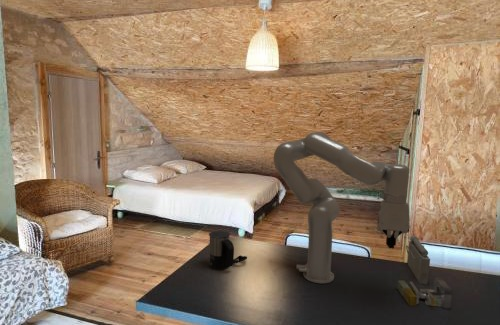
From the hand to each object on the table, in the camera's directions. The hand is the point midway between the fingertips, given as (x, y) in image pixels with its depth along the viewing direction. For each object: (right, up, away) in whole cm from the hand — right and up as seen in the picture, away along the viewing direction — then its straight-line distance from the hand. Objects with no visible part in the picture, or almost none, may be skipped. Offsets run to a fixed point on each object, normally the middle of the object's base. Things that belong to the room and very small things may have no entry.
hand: (390, 246), depth 122 cm
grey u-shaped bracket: (+16, -20, 0) cm, 25 cm away
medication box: (+7, -20, +2) cm, 21 cm away
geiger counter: (+20, -17, +24) cm, 36 cm away
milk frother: (-62, -15, +26) cm, 69 cm away
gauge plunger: (+14, -19, -1) cm, 24 cm away
